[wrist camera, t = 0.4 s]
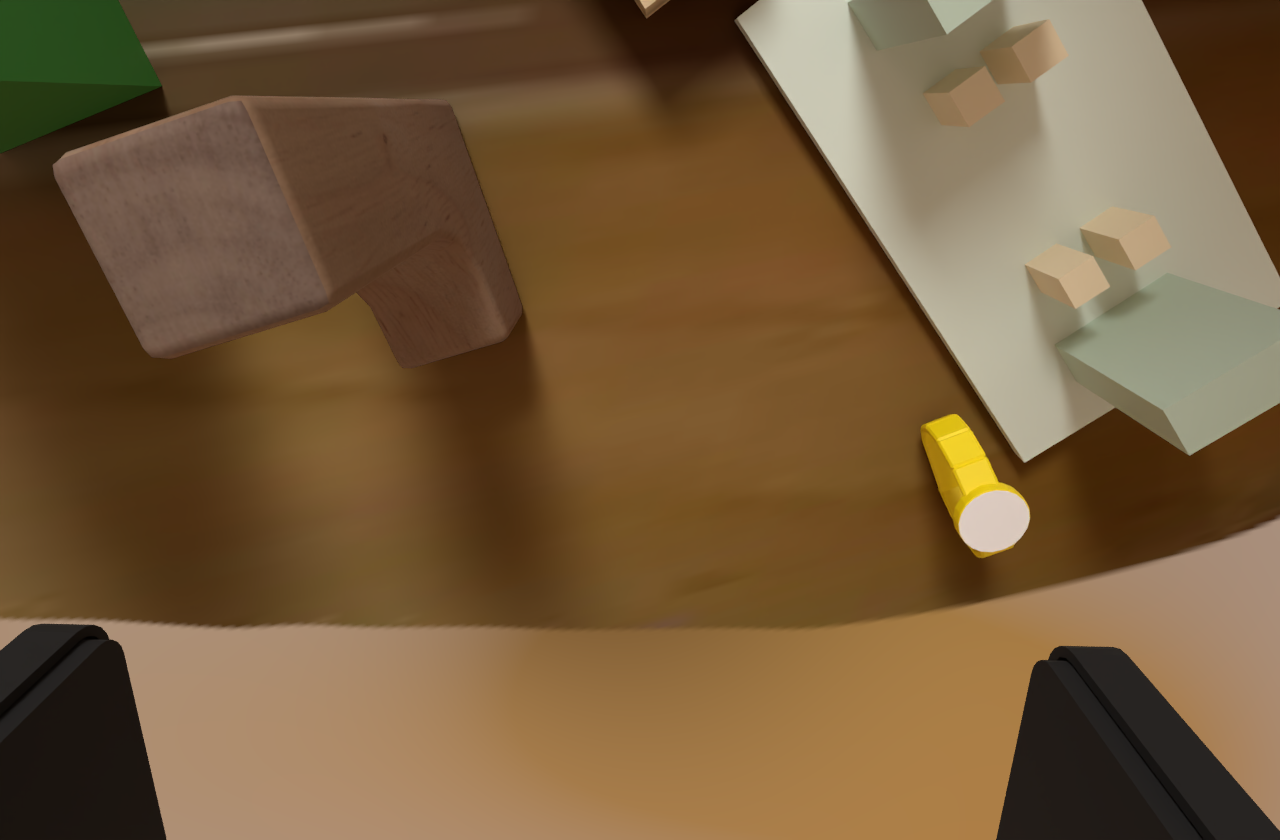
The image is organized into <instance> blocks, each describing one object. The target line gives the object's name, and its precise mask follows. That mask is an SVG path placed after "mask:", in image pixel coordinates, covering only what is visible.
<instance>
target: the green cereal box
mask: <svg viewBox="0 0 1280 840" xmlns="http://www.w3.org/2000/svg"><path fill="white" fill-rule="evenodd" d="M159 87H162V85H161V83H160V81H159V79H158V77H157V75H156V73H155V71H154V69H153V67H152V66H151V64H150V62H149V60H148V58H147V56H146V54H145V52H144V50H143V48H142V46H141V44H140V42H139V40H138V38H137V36H136V34H135V32H134V30H133V28H132V26H131V24H130V23H129V21H128V19H127V17H126V15H125V13H124V11H123V9H122V7H121V5H120V3H119V1H118V0H0V153H2V152H5V151H7V150H10V149H12V148H15V147H17V146H19V145H22V144H24V143H27V142H29V141H31V140H34V139H36V138H39V137H41V136H43V135H46V134H48V133H51V132H53V131H56V130H58V129H60V128H63V127H65V126H68V125H70V124H72V123H75V122H77V121H80V120H82V119H84V118H87V117H89V116H92V115H94V114H96V113H99V112H101V111H104V110H106V109H109V108H111V107H113V106H116V105H118V104H121V103H123V102H125V101H128V100H130V99H133V98H135V97H137V96H140V95H142V94H145V93H147V92H150V91H152V90H154V89H157V88H159Z"/></svg>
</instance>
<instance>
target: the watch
mask: <svg viewBox="0 0 1280 840" xmlns="http://www.w3.org/2000/svg"><path fill="white" fill-rule="evenodd" d="M921 439H922V442H923V445H924V448H925V451H926V453H927V456H928V459H929V462H930V465H931V468H932V471H933V474H934V476H935V479H936V482H937V485H938V491H940V494H941V497H942V499H943V501H944V503H945V505H946V507H947V509H948V512H949V514H950V516H951V518H953V522H954V527H955V529H956V531H957V532H958V534H959V536H960V537H961V539H962V540H963V541H964V542H965V543H966V544H967V546H968V547H969V548H970V550H971V551H972V552H973V553H974V555H975V556H976V557H979V558H985V557H988V556H990V555H993V554H996V553H999V552H1002V551H1005V550H1007V549H1010V548H1013V547H1014V545H1015V543H1016V542H1017V541H1018V540H1019V539H1020V538H1021V537H1022V536H1023V534H1024V533H1025V531H1026V529H1027V528H1028V524H1029V521H1030V510H1029V506H1028V504H1027V502H1026V500H1025V499H1024V498H1023V497H1022V496H1021V494H1020V493H1019V492H1018V491H1016V490H1015V489H1014V488H1013V487H1011V486H1009V485H1006V484H1004V483H999V482H998V480H997V478H996V475H995V473H994V471H993V469H992V467H991V464H990V462H989V460H988V458H986V454H985V452H984V451H983V449H982V447H981V446H980V444H979V442H978V441H977V439H976V437H975V435H974V434H973V432H972V431H971V430H970V428H969V427H968V425H967V424H966V423H965V422H964V421H963V420H962V419H961V418H960V416H958V415H956V414H950V415H947V416H944V417H942V418H939V419H936V420H934V421H931V422H929V423H926V424H923V425H922V426H921Z"/></svg>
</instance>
